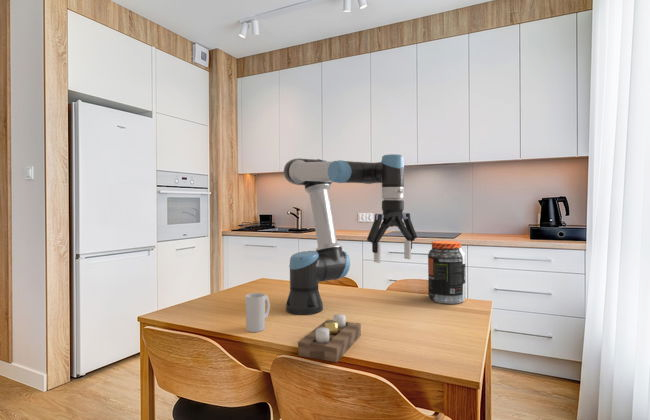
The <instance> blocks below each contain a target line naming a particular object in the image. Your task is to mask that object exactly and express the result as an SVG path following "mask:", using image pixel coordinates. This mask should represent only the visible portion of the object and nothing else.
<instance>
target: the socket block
mask: <svg viewBox="0 0 650 420" xmlns="http://www.w3.org/2000/svg"><path fill="white" fill-rule="evenodd" d="M326 321H333V319H329V318H328V319H326V320H325V321H324V322H321V324H319V325H318V326H317V327H315V328H313V330H311V331H310V332H309V333H307V334H306V335H305V336H304V337H303V338H301V339H300V340H299V341H297V355H298V356H299V357H305V358H310V359H316V360H322V361H328V362H333V363H338V362H339V361H340V359H341V358H342V357H343V356H344V355H345V354H346V353H347V351H348V350H350V349H351V347H352V346H353V345H354V344H355V343H356V342H357V341H358V340H359V338H361V336H362V334H361V333H362V329H361V328H362V325H361V323H360V322H359V323H358V322H351V321H349V322H348V321H346V327H345V328H338V334H337V335H336V336H335V335H329V342H328V343H327V344H324V343H318V342H316V329H317V328H325V322H326Z"/></svg>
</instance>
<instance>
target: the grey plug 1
mask: <svg viewBox="0 0 650 420" xmlns="http://www.w3.org/2000/svg"><path fill="white" fill-rule="evenodd" d="M316 328H317V327H316ZM316 328H315V329H316ZM316 342H318V343H324V344H327V343H328V342H329V329H328V328H317V329H316Z"/></svg>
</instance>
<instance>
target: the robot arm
mask: <svg viewBox="0 0 650 420" xmlns="http://www.w3.org/2000/svg"><path fill="white" fill-rule="evenodd" d="M404 161H405V160H404V156H403V155H402V154H391V153H390V154H384V155H382V156H381V161H378V162H377V161H376V162H365V161H364V162H363V161H349V160H333V161H327V160H325V159H320V158H319V159H311V158H293V159H290V160H289V161H287V162H286V164H285V165H284V167H283V175H284V178H285V180H286V181H288V182H289V183H291V184H292V185H296V186H304V190H305V192H306V193H308V194H309V199H310V206H311V211H312V213H311V214H312V219H313V223H314V231H315V237H316V242H317V247H316V248H315V250H306V251H303V250H302V251H299V252H296V253H293V254H292V255H291V256H290V257H289V265H288V266H289V293H288V297H287V300H286V304H285V311H286V312H287V313H289V314H293V315H313V314H317V313H320V312H322V311H323V309H324V304H323V303H324V302H323V301H322V300H323V299H322V297H321V294H320V291H319V283H321V282H326V281H334V280H335V281H336V280H338V279H343V278H345V277H346V276H347V275H348V273H349V270H350V267H351V260H350V256H349V254H348V253H347V252H346V251H344V250H343V246H342V245H341V244H339V243H338V239H337V233H336V232H337V231H336V227H335V222H334V217H333V216H334V215H333V211H332V209H333V208H332V206H331V199H330V193H329V190H330V189H331V188H332V186H331V185H332V183H337V184H365V185H372V184H381V199H383V200H382V201H381V210H382V214H381V213H375V215H374V221H373V223H372V225H371V228H370V231H369V233H368V235H367V239H366V241H368V242H369V243H371V246H372V247H371V250H372V253H373V263H378V264H381V243H379V242H380V241H381V239H382V238H383V236H384V235H385V233H386V232H387V230H388V229H389V228H390V227H397V228H398V229H399V231H400V232H401V234H402V235H403V237H404V239H405V240H404V241H403V243H404V244H403V245H404V246H403V247H404V250H403V252H404V253H403V257H404V259H405V260H412V249H413V242H415V239H417V238H418V236H417V233H416V230H415V228H414V225H413V223H412V222H413V221H412V219H411V214H410V213H409V212H403V211H404V210H405V206H404V205H405V201H404V200H403V199H404V198H405V192H404V191H405V188H404V185H405V181H404V180H405V179H404V178H405V174H404V173H405V162H404Z"/></svg>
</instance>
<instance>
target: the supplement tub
mask: <svg viewBox="0 0 650 420" xmlns="http://www.w3.org/2000/svg"><path fill="white" fill-rule="evenodd" d="M427 260H428V261H427V267H428V268H427V269H428V271H427V273H428V275H427V276H428V278H427V279H428V282H427V283H428V286H427V287H428V298H429V299H430V300H431V301H433V302H435V303H440V304H451V305H453V304H461V303H464V302H465V301H466V294H467V293H466V290H467V289H466V254H465V252H464V251H463V248H462V242H461V241H459V240H457V241H455V240H435V241H434V240H433V241H432V242H431V249H430V250H429V252H428V255H427Z"/></svg>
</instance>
